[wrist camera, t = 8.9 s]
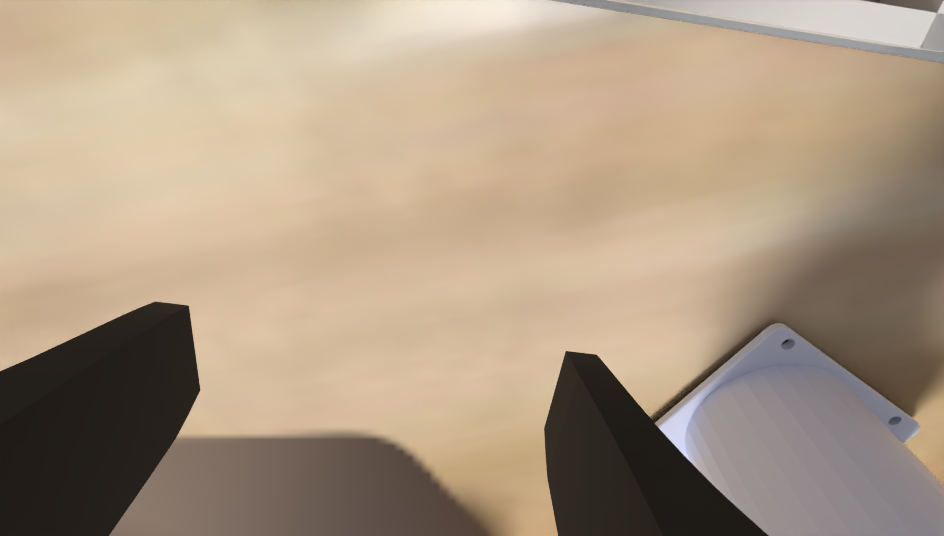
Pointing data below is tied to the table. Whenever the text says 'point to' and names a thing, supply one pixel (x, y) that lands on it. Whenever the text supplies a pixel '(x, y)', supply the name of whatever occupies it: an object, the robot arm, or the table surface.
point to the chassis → (812, 21)
